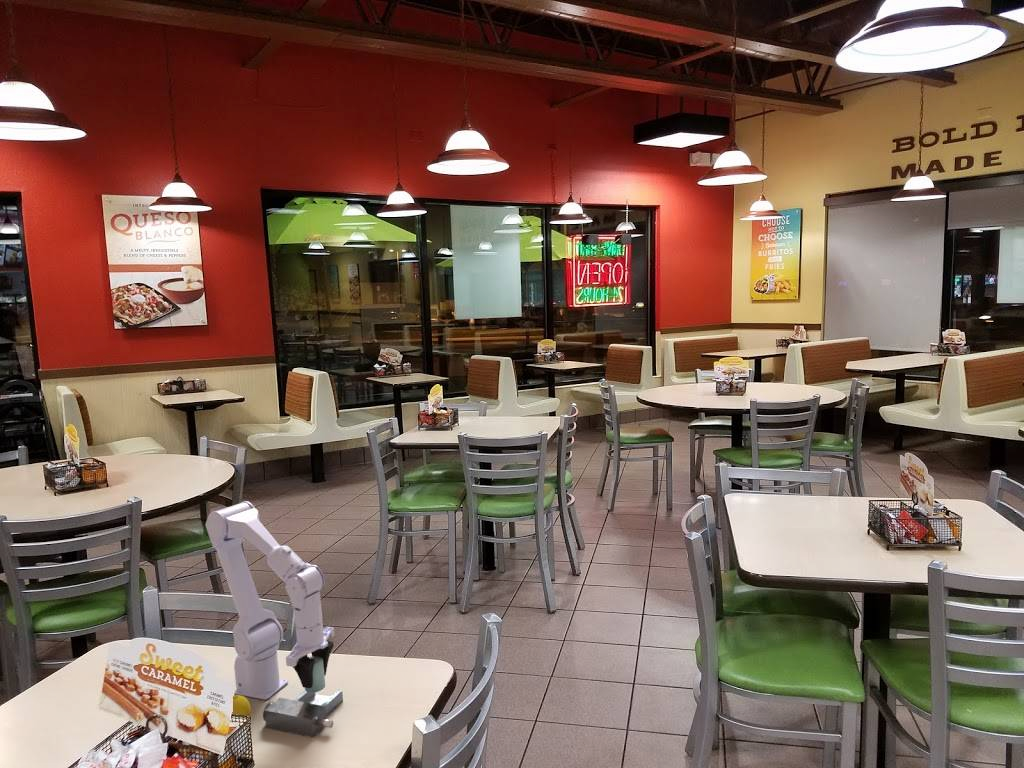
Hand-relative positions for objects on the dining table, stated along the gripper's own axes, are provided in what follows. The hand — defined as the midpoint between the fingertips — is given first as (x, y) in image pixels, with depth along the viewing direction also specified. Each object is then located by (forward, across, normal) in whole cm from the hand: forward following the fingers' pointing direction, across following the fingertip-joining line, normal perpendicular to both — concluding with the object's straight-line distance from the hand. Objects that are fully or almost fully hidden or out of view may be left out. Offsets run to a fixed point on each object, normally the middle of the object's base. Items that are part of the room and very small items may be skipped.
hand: (314, 681), depth 159 cm
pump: (+1, 0, 0) cm, 1 cm away
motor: (+6, -3, -1) cm, 7 cm away
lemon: (+6, -12, +11) cm, 18 cm away
